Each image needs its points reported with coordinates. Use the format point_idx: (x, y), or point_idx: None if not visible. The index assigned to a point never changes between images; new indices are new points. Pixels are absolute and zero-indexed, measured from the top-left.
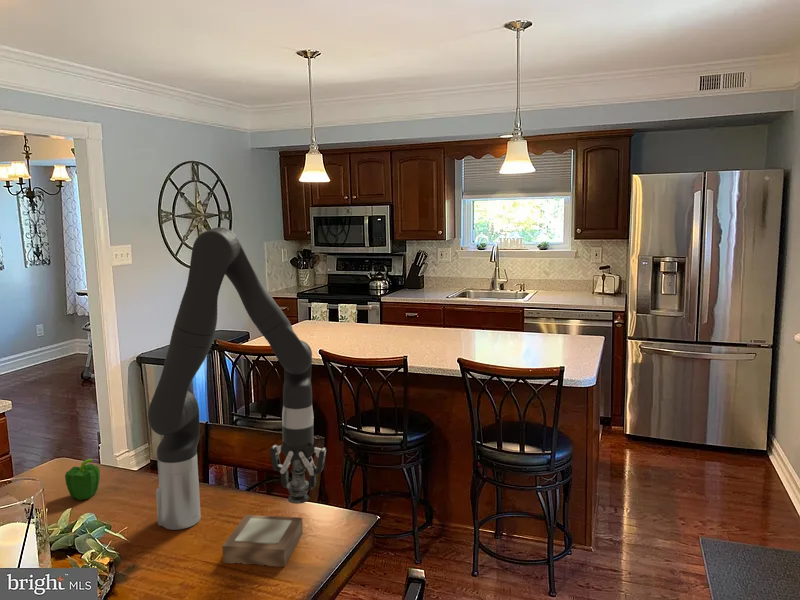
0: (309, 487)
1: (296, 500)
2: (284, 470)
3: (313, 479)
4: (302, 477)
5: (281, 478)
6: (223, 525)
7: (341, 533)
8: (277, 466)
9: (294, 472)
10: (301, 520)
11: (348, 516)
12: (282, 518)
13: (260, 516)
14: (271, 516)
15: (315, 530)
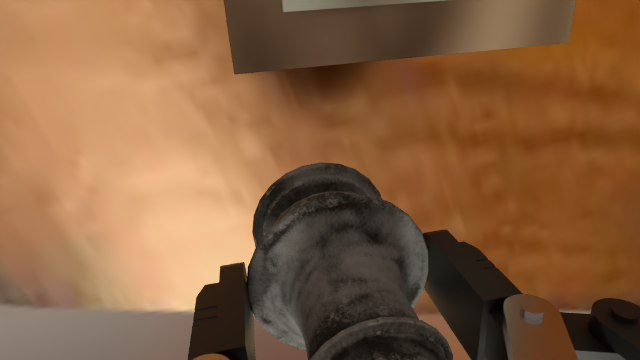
0: (236, 269)
1: (319, 185)
2: (520, 325)
3: (201, 334)
4: (313, 322)
5: (496, 274)
6: (613, 57)
7: (19, 106)
8: (626, 341)
9: (404, 330)
10: (232, 57)
11: (77, 266)
12: (353, 40)
13: (487, 39)
14: (426, 51)
15: (179, 105)
